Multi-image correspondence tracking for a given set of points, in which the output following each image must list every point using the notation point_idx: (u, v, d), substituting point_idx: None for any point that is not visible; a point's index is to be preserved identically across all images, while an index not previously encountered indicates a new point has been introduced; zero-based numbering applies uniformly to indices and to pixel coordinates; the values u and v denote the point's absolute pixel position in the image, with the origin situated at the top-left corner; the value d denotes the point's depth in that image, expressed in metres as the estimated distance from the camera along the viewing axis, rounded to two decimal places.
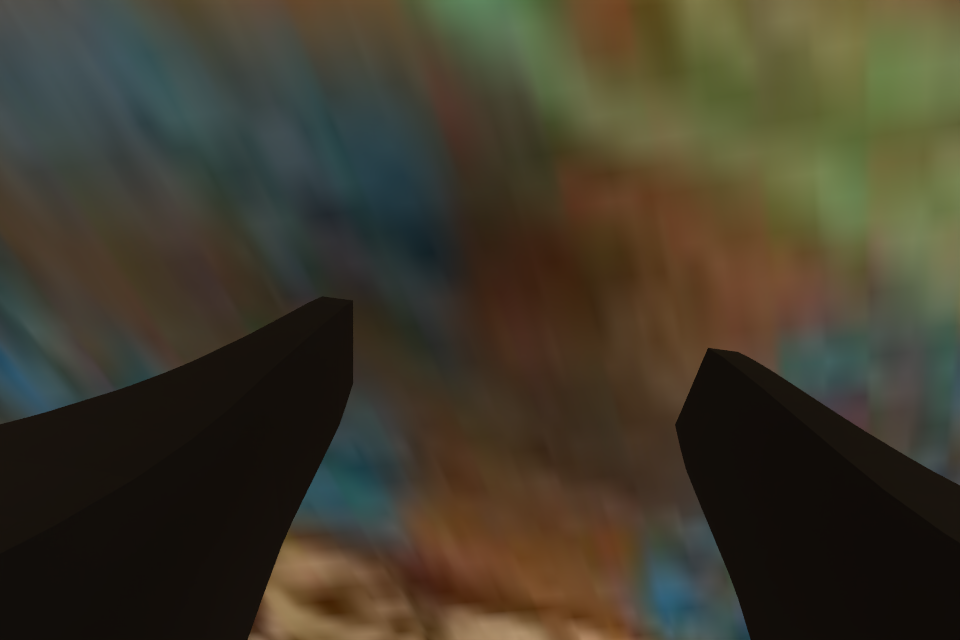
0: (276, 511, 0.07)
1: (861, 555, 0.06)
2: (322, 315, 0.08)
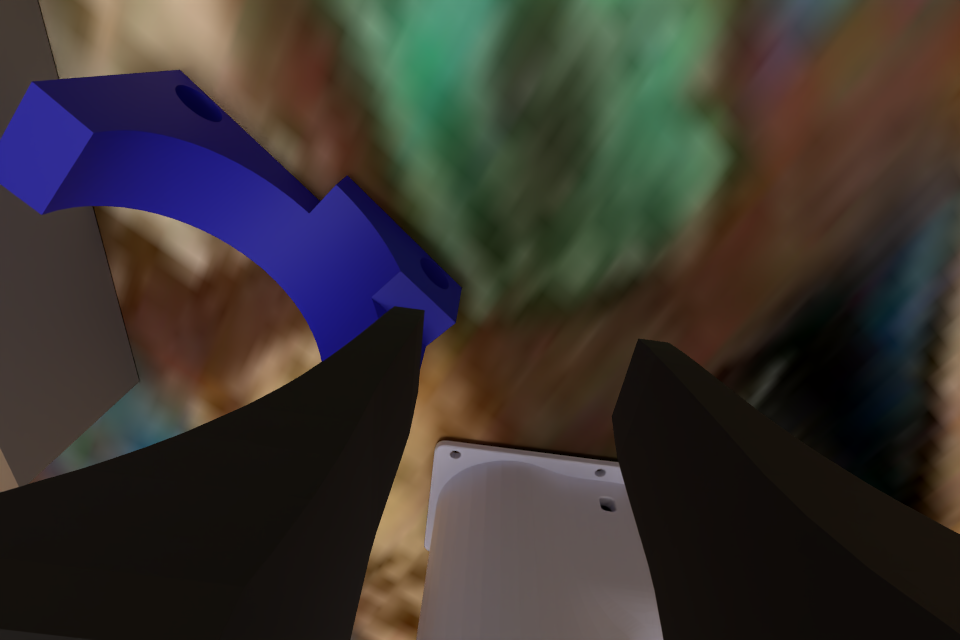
0: (369, 523, 0.07)
1: (745, 541, 0.06)
2: (403, 327, 0.08)
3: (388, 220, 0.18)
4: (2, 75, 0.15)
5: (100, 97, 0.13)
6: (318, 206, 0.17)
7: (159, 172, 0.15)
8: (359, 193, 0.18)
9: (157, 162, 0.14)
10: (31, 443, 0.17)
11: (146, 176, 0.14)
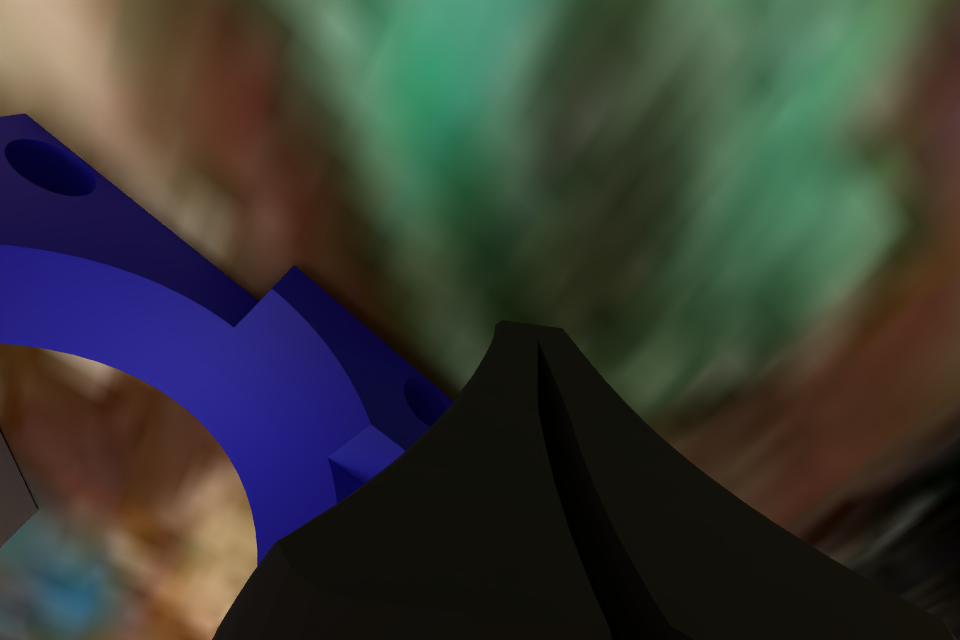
0: None
1: (567, 519, 0.06)
2: (525, 342, 0.08)
3: (356, 328, 0.12)
4: None
5: None
6: (247, 318, 0.11)
7: None
8: (312, 293, 0.12)
9: None
10: None
11: None
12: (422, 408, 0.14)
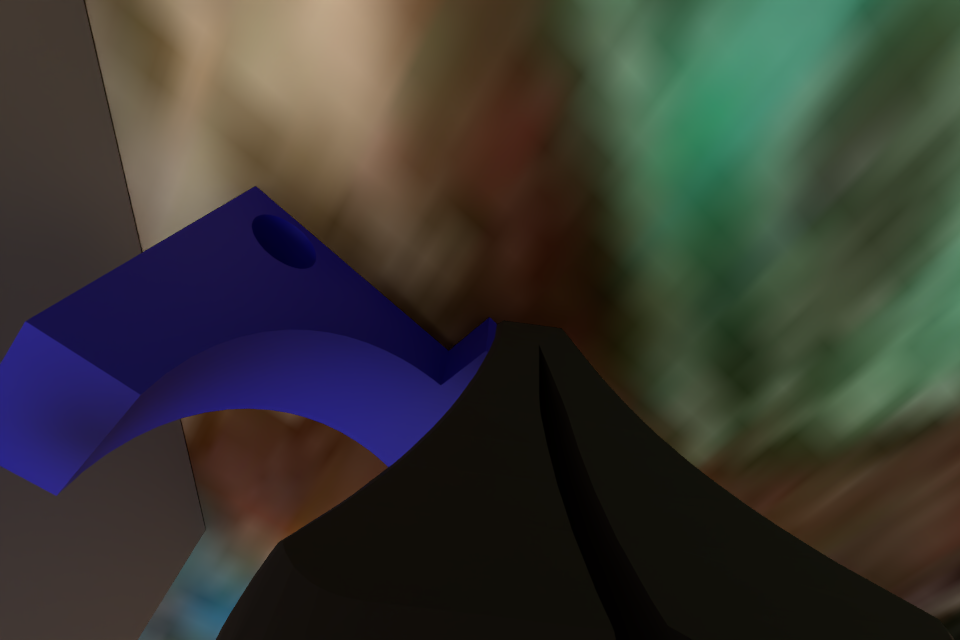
0: None
1: None
2: (527, 342, 0.08)
3: None
4: (36, 155, 0.09)
5: (148, 300, 0.07)
6: (455, 376, 0.12)
7: (236, 371, 0.09)
8: None
9: (234, 363, 0.09)
10: None
11: (217, 380, 0.09)
12: None
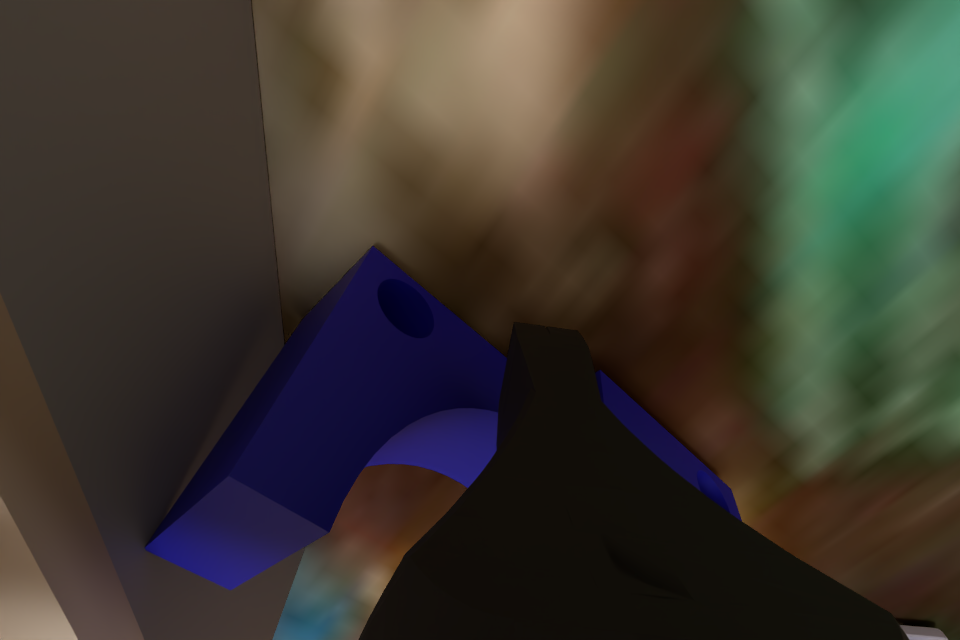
0: None
1: None
2: (576, 349, 0.08)
3: (654, 431, 0.12)
4: (221, 189, 0.09)
5: (315, 418, 0.07)
6: None
7: None
8: (620, 404, 0.12)
9: None
10: None
11: None
12: None
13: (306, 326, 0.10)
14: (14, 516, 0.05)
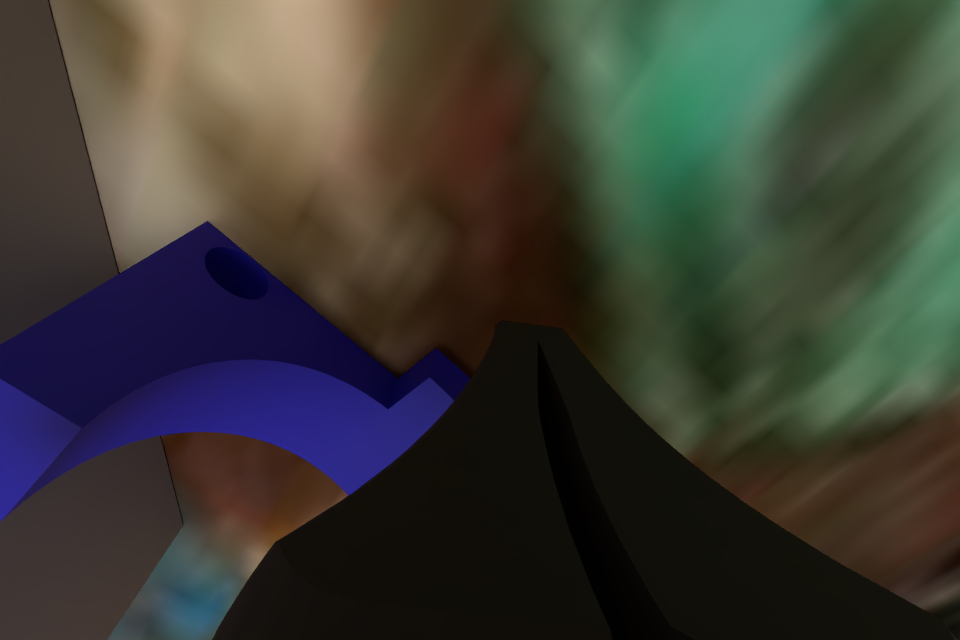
0: None
1: (567, 519, 0.06)
2: (525, 342, 0.08)
3: None
4: None
5: (95, 337, 0.08)
6: (401, 401, 0.12)
7: (185, 398, 0.10)
8: (453, 374, 0.13)
9: (182, 391, 0.09)
10: None
11: (165, 407, 0.10)
12: None
13: None
14: None
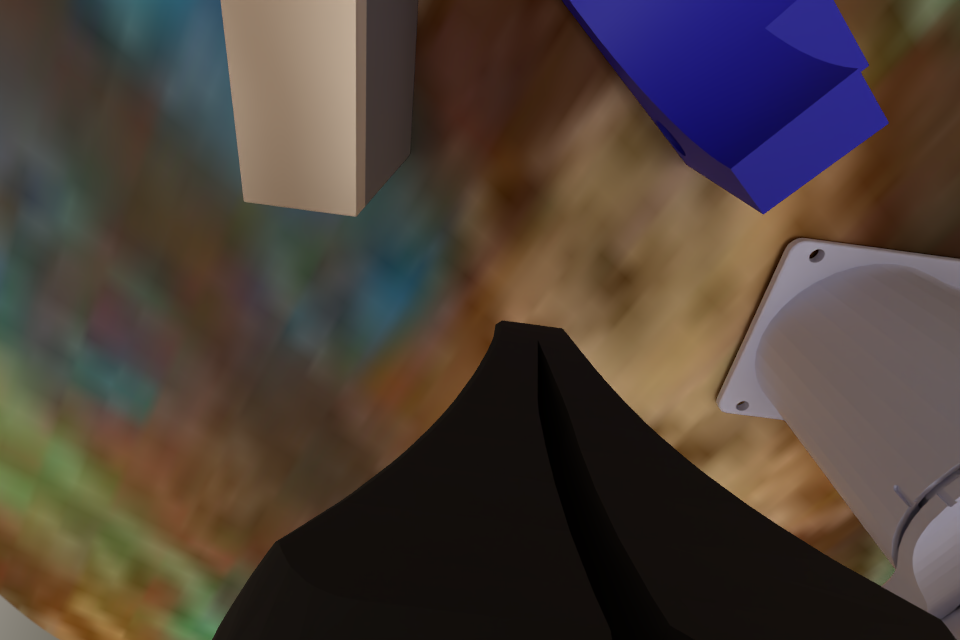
0: None
1: (567, 519, 0.06)
2: (525, 342, 0.08)
3: None
4: None
5: None
6: None
7: None
8: None
9: None
10: (375, 141, 0.12)
11: None
12: None
13: None
14: None
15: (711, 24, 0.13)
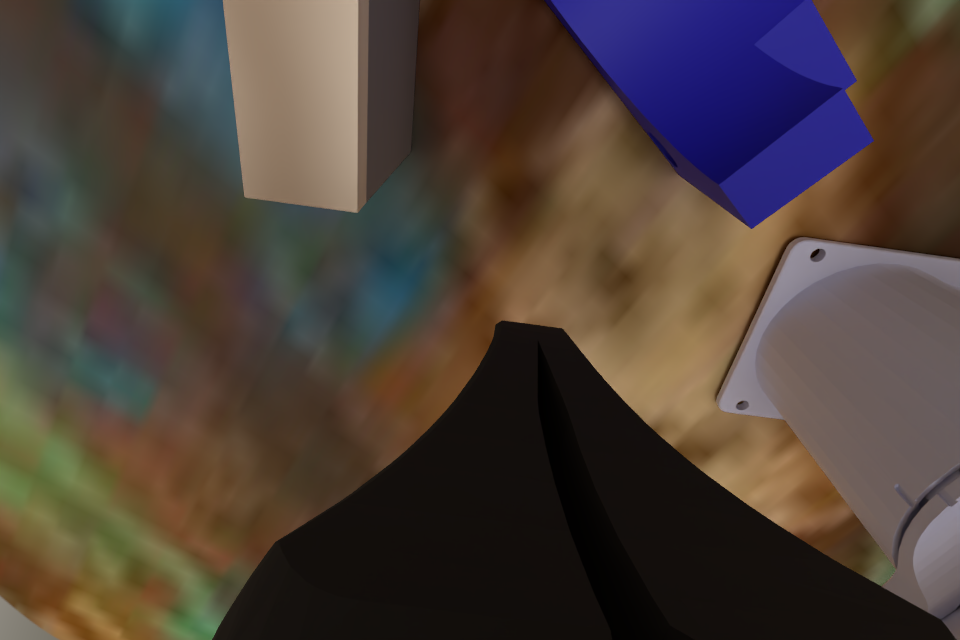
0: None
1: (567, 519, 0.06)
2: (525, 342, 0.08)
3: None
4: None
5: None
6: None
7: None
8: None
9: None
10: (376, 137, 0.12)
11: None
12: None
13: None
14: None
15: (701, 40, 0.13)
